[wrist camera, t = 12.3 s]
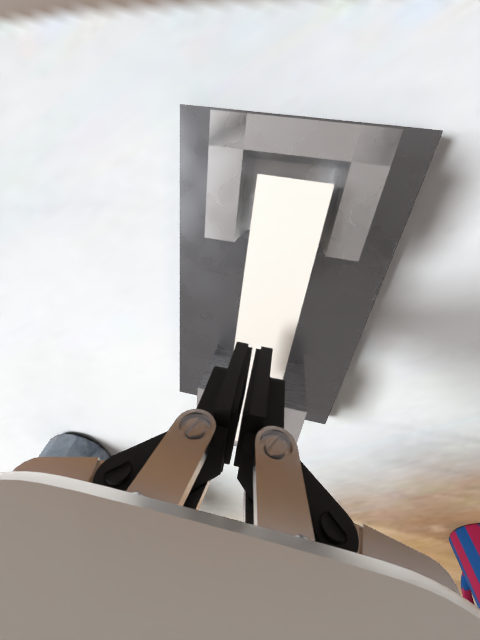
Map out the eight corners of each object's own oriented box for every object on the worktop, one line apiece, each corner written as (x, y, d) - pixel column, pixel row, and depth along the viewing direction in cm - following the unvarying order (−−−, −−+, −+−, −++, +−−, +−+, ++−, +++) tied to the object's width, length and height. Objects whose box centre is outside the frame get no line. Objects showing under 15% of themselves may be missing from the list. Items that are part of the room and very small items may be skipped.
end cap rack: (431, 134, 14) (518, 102, 9) (323, 414, 25) (332, 478, 19) (187, 109, 16) (131, 69, 10) (184, 383, 26) (155, 434, 21)
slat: (322, 184, 14) (334, 184, 10) (270, 395, 22) (264, 447, 18) (268, 177, 14) (257, 173, 10) (236, 387, 22) (221, 437, 18)
